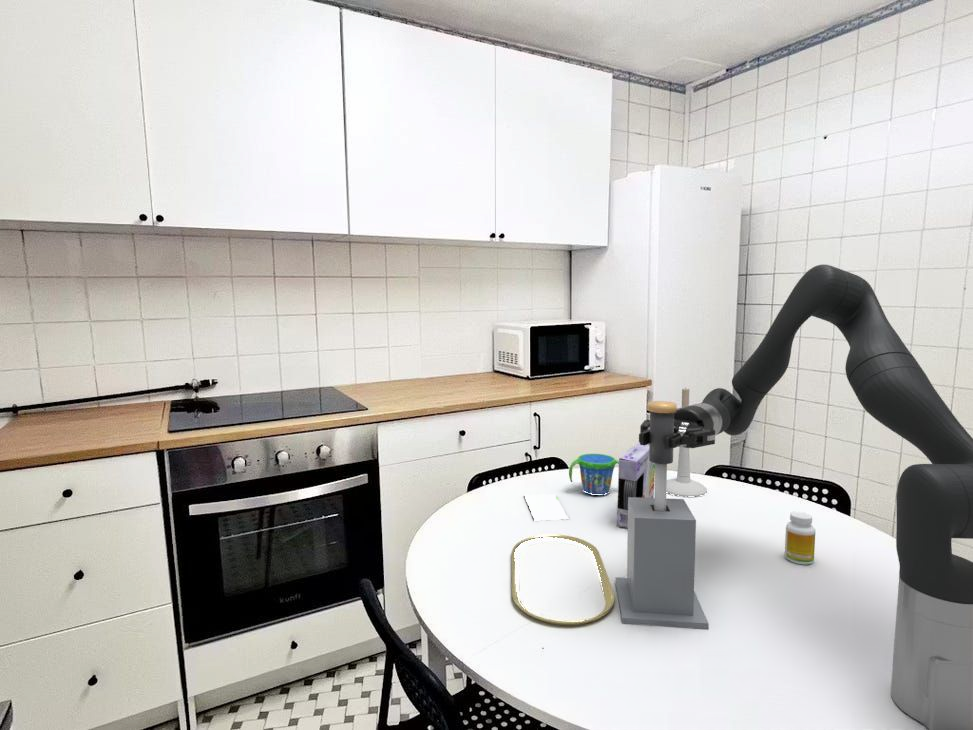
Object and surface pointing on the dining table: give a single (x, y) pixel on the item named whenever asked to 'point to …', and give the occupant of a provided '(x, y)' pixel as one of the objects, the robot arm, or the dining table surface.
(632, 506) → the column
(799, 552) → the supplement bottle
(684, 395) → the candlestick
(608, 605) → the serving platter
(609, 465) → the snack cup
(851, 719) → the dining table surface
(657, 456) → the plunger
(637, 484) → the cake pan box
